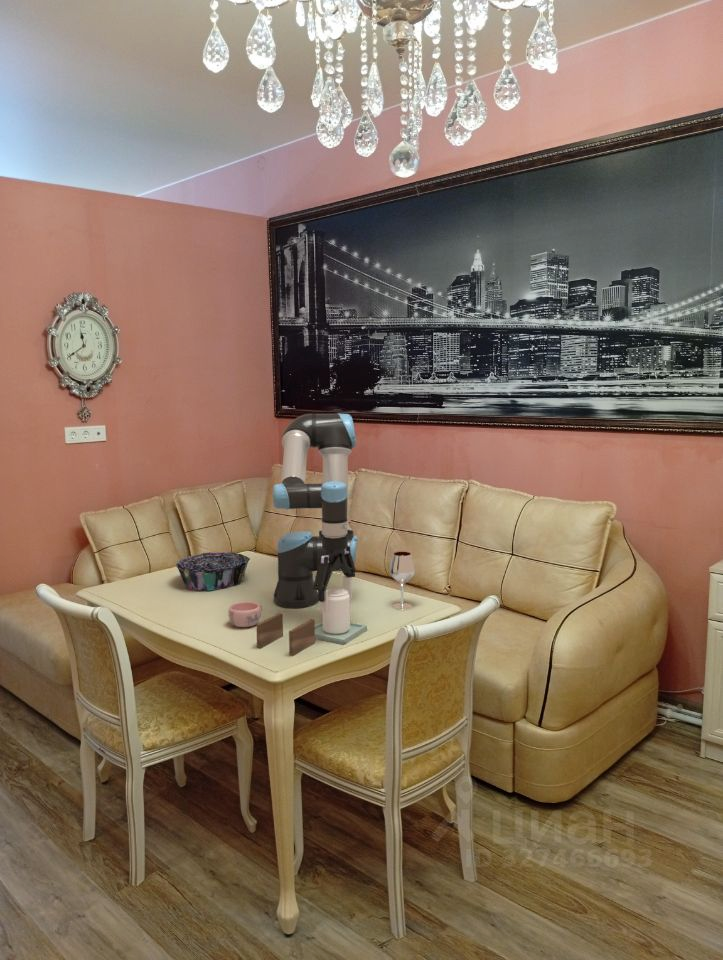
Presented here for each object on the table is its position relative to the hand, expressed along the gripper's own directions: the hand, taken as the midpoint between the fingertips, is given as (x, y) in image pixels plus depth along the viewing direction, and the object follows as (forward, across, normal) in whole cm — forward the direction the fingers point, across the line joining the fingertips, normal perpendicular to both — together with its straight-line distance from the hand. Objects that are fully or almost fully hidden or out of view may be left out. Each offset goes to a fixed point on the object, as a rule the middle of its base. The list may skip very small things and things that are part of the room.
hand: (335, 604), depth 224 cm
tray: (+9, 0, 0) cm, 9 cm away
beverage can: (+8, 0, 0) cm, 8 cm away
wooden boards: (+9, -16, +7) cm, 19 cm away
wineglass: (+9, +30, -7) cm, 33 cm away
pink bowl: (+9, -6, +28) cm, 30 cm away
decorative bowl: (+10, +22, +66) cm, 70 cm away
